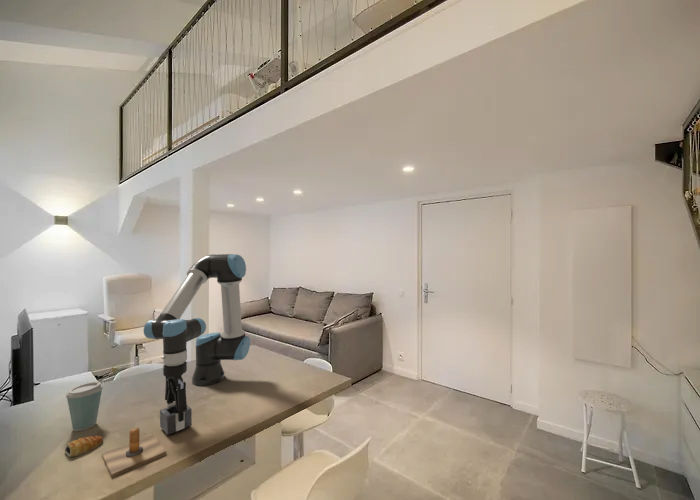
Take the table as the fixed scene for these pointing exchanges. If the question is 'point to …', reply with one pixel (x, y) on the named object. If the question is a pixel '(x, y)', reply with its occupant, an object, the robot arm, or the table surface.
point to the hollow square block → (173, 418)
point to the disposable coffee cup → (84, 405)
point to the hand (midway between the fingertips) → (175, 424)
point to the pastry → (82, 445)
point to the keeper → (133, 453)
